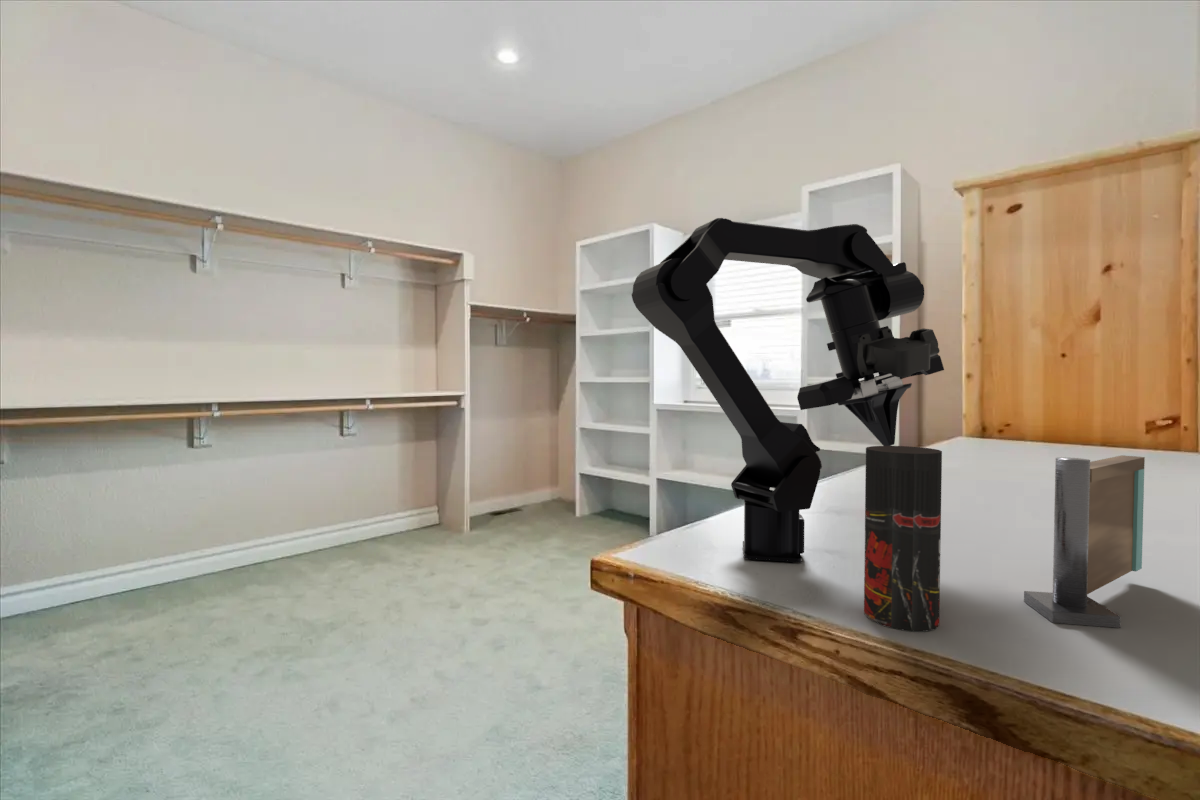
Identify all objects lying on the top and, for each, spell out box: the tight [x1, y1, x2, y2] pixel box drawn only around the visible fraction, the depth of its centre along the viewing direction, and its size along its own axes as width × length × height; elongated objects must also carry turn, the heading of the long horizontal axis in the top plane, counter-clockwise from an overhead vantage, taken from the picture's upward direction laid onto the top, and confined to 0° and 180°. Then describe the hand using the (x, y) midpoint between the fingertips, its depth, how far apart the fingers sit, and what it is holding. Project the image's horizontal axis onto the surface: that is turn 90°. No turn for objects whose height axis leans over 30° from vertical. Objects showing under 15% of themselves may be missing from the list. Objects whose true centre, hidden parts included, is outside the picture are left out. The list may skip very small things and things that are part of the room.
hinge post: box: [1023, 456, 1121, 629], centre depth 52 cm, size 5×5×14 cm
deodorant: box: [863, 445, 943, 633], centre depth 51 cm, size 6×6×15 cm
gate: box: [1087, 454, 1146, 595], centre depth 56 cm, size 2×14×12 cm, turn 123°
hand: (889, 445), depth 73 cm, fingers closed
